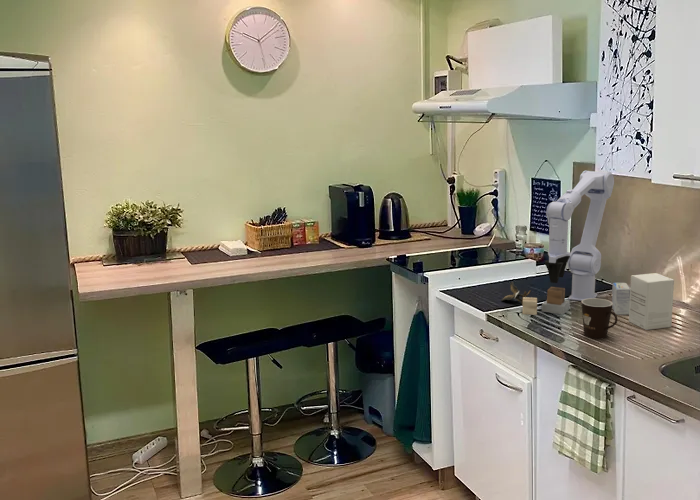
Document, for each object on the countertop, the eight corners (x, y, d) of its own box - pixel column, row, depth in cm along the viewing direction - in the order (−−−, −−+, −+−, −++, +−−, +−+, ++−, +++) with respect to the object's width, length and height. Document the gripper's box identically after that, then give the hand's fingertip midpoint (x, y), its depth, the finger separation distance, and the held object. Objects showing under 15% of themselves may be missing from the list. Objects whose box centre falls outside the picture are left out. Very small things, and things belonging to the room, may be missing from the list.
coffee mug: (576, 330, 211) (577, 298, 209) (605, 329, 210) (607, 298, 208) (588, 343, 199) (589, 310, 197) (618, 343, 199) (620, 309, 197)
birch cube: (522, 310, 232) (523, 297, 231) (536, 310, 231) (537, 297, 230) (522, 314, 228) (522, 301, 227) (536, 315, 227) (537, 301, 226)
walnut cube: (550, 299, 234) (551, 286, 233) (564, 301, 231) (565, 288, 230) (547, 303, 230) (547, 290, 229) (560, 305, 227) (561, 291, 226)
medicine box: (629, 315, 223) (631, 289, 222) (615, 314, 224) (616, 288, 222) (625, 307, 231) (626, 282, 229) (611, 307, 232) (612, 282, 230)
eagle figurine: (533, 298, 241) (512, 288, 247) (529, 284, 236) (508, 275, 243) (519, 313, 238) (498, 303, 245) (516, 299, 234) (494, 289, 240)
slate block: (548, 306, 236) (549, 298, 235) (569, 309, 232) (570, 301, 231) (541, 312, 230) (542, 303, 230) (563, 315, 226) (563, 306, 226)
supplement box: (653, 318, 219) (656, 272, 216) (672, 327, 211) (675, 279, 208) (627, 321, 218) (630, 274, 214) (645, 330, 209) (648, 281, 206)
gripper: (565, 244, 218) (564, 286, 221) (576, 235, 230) (574, 275, 233) (542, 242, 221) (541, 284, 224) (554, 234, 233) (553, 273, 236)
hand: (556, 279), depth 229 cm, fingers open, 7 cm apart
